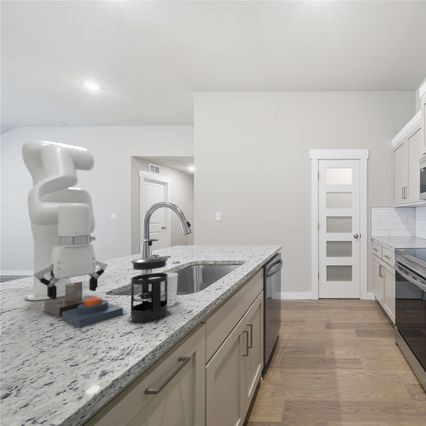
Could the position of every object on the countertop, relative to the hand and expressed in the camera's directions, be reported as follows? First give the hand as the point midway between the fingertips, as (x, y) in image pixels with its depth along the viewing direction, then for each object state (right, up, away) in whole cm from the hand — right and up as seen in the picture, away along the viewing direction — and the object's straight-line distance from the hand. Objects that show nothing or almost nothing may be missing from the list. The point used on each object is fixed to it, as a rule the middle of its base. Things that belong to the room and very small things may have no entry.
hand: (73, 294), depth 81 cm
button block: (+12, -5, -7) cm, 15 cm away
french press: (+29, -5, -7) cm, 30 cm away
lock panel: (0, -5, 0) cm, 5 cm away
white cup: (+27, -5, +4) cm, 28 cm away
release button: (+12, -1, -7) cm, 14 cm away
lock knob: (0, -2, 0) cm, 2 cm away
